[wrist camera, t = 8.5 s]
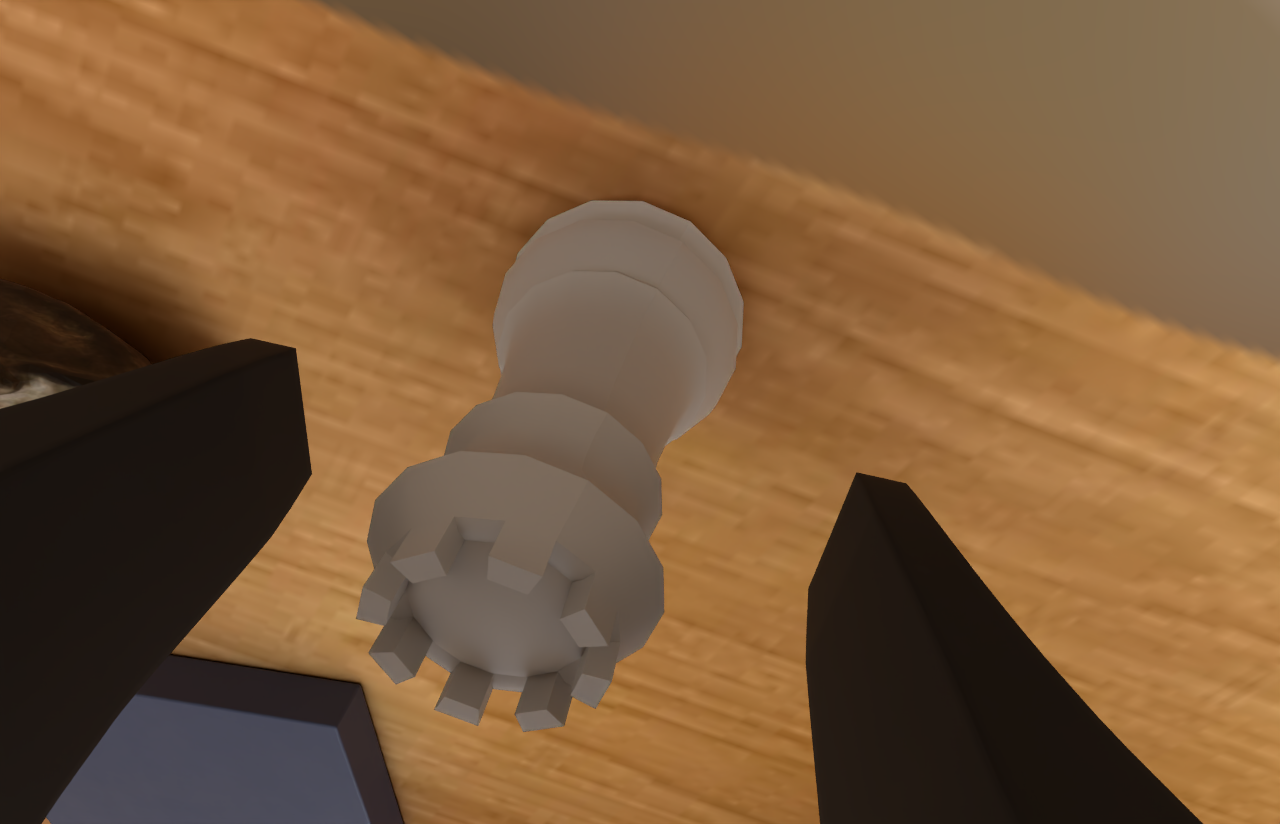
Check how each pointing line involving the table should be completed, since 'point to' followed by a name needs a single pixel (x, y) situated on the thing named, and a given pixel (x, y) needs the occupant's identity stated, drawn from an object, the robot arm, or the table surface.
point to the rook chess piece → (557, 468)
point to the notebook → (234, 753)
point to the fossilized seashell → (53, 347)
